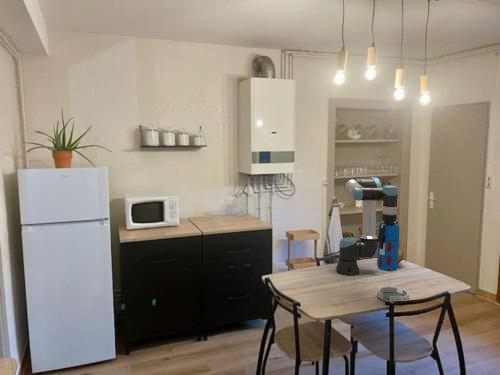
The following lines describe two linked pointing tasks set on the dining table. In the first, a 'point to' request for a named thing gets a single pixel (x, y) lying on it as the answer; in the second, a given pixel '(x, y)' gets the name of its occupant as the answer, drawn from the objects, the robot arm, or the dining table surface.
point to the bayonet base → (391, 294)
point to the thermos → (389, 249)
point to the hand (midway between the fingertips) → (387, 252)
